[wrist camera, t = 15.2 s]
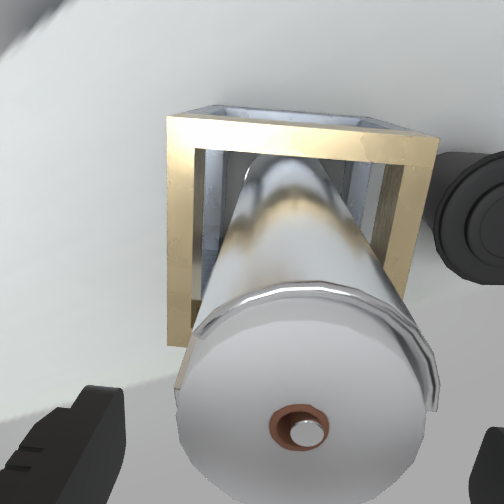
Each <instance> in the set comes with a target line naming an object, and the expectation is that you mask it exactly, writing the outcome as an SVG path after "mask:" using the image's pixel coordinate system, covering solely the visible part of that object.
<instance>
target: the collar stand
mask: <svg viewBox="0 0 504 504" xmlns="http://www.w3.org/2000/svg"><path fill="white" fill-rule="evenodd" d="M439 141H440V138H437V137H433V136H430V135H427V134H423V133H420V132H417V131H413V130H410V129H407V128H403V127H400V126H397V125H393V124H390V123H387V122H383V121H380V120H377V119H373V118H370V117H358V116H346V115H333V114H321V113H308V112H296V111H283V110H271V109H259V108H246V107H234V106H221V105H212V106H207V107H203V108H199V109H195V110H191V111H187V112H183V113H178V114H174V115H170V116H167V346H177V347H188V344H189V341H190V338H191V335H192V330H193V327H194V324H195V321H196V318H197V316H198V313H199V310H200V307H201V304H202V301H203V298H204V296H205V293H206V290H207V287H208V284H209V281H210V279H211V276H212V273H213V270H214V267H215V264H216V261H217V259H218V256H219V253H220V250H221V247H222V244H223V241H224V239H225V237H224V217H225V198H226V178H227V159H228V151H240V152H252V153H264V154H276V155H288V156H300V157H312V158H324V159H336V160H346V166H345V173H344V179H343V186H342V192H341V198H342V200H343V202H344V203H345V205H346V207H347V208H348V210H349V212H350V213H351V215H352V217H353V218H354V220H355V222H356V223H357V225H358V227H359V228H360V226H361V220H362V215H363V209H364V203H365V198H366V192H367V187H368V181H369V175H370V170H371V164H372V163H384V164H386V165H385V170H384V176H383V181H382V186H381V191H380V197H379V202H378V207H377V212H376V218H375V223H374V228H373V233H372V239H371V244H370V247H371V249H372V250H373V252H374V254H375V255H376V257H377V259H378V260H379V262H380V264H381V265H382V267H383V269H384V270H385V272H386V274H387V275H388V277H389V279H390V280H391V282H392V284H393V286H394V287H395V289H396V291H397V292H398V294H399V296H400V297H401V299H402V300H403V296H404V291H405V287H406V283H407V279H408V274H409V270H410V266H411V261H412V257H413V253H414V248H415V244H416V240H417V236H418V231H419V227H420V223H421V218H422V214H423V210H424V205H425V201H426V197H427V192H428V188H429V184H430V180H431V175H432V171H433V167H434V162H435V158H436V154H437V149H438V145H439ZM205 149H206V170H205ZM204 178H205V201H204ZM203 210H204V232H203ZM202 241H203V250H202Z"/></svg>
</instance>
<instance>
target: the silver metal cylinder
mask: <svg viewBox="0 0 504 504" xmlns="http://www.w3.org/2000/svg"><path fill="white" fill-rule="evenodd" d="M439 392H440V380H439V375H438V370H437V366H436V361H435V358H434V353H433V351H432V349H431V348H430V346H429V345H428V343H427V341H426V340H425V338H424V336H423V334H422V333H421V331H420V329H419V328H418V326H417V324H416V323H415V321H414V319H413V317H412V316H411V314H410V312H409V311H408V309H407V307H406V306H405V304H404V302H403V301H402V299H401V297H400V296H399V294H398V292H397V291H396V289H395V287H394V286H393V284H392V282H391V280H390V279H389V277H388V275H387V274H386V272H385V270H384V269H383V267H382V265H381V264H380V262H379V260H378V259H377V257H376V255H375V254H374V252H373V250H372V249H371V247H370V245H369V244H368V242H367V240H366V238H365V237H364V235H363V233H362V232H361V230H360V228H359V227H358V225H357V223H356V222H355V220H354V218H353V217H352V215H351V213H350V212H349V210H348V208H347V207H346V205H345V203H344V202H343V200H342V198H341V196H340V195H339V193H338V191H337V190H336V188H335V186H334V185H333V183H332V181H331V180H330V178H329V176H328V175H327V173H326V171H325V170H324V168H323V166H322V165H321V163H320V161H319V160H318V159H317V158H312V157H300V156H288V155H276V154H264V153H261V154H260V155H258V156H257V157H256V159H255V160H254V161H253V162H252V163H251V164H250V166H249V169H248V171H247V173H246V175H245V181H244V185H243V187H242V190H241V193H240V196H239V199H238V202H237V204H236V207H235V210H234V213H233V216H232V219H231V222H230V224H229V227H228V230H227V233H226V236H225V239H224V241H223V244H222V247H221V250H220V253H219V256H218V259H217V261H216V264H215V267H214V270H213V273H212V276H211V279H210V281H209V284H208V287H207V290H206V293H205V296H204V298H203V301H202V304H201V307H200V310H199V313H198V316H197V318H196V321H195V324H194V327H193V330H192V335H191V338H190V341H189V344H188V347H187V349H186V352H185V355H184V358H183V361H182V364H181V367H180V370H179V373H178V375H177V378H176V382H175V384H174V394H175V400H176V406H177V413H176V419H177V426H178V433H179V440H180V443H181V445H182V447H183V449H184V451H185V452H186V454H187V456H188V458H189V460H190V461H191V463H192V464H193V465H194V466H195V467H196V468H197V469H198V470H199V471H200V472H201V473H202V474H203V475H204V476H205V477H206V478H207V479H208V480H209V481H210V482H211V483H212V484H214V485H215V486H216V487H218V488H219V489H220V490H222V491H223V492H224V493H226V494H227V495H228V496H230V497H231V498H232V499H234V500H237V501H239V502H242V503H244V504H361V503H364V502H367V501H369V500H372V499H374V498H375V497H376V496H378V495H379V494H380V493H382V492H383V491H384V490H386V489H387V488H388V487H390V486H391V485H392V484H393V483H395V482H396V481H397V480H398V479H399V478H400V476H401V475H402V474H403V473H404V472H405V471H406V470H407V468H409V466H410V465H411V464H412V463H413V462H414V460H415V457H416V455H417V452H418V450H419V448H420V445H421V443H422V440H423V438H424V430H425V421H426V411H432V412H437V409H438V399H439Z"/></svg>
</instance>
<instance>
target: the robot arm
mask: <svg viewBox="0 0 504 504" xmlns="http://www.w3.org/2000/svg"><path fill="white" fill-rule="evenodd" d="M125 447H126V430H125V411H124V394H123V390H122V389H121V388H113V387H103V386H93V385H87V386H85V387H84V388H83V390H82V391H81V393H80V394H79V396H78V397H77V399H76V400H75V402H74V403H73V405H72V406H71V408H60V407H57V408H56V409H54V410H53V411H52V412H50V413H49V414H48V415H46V416H45V417H44V418H42V419H41V420H40V421H38V422H37V423H36V424H35V425H34V426H33V427H32V429H31V430H30V431H29V433H28V434H27V435H26V437H25V438H24V440H23V441H22V442H21V444H20V445H19V448H18V450H16V451H15V452H14V453H13V455H12V456H11V458H10V459H9V460H8V461H7V463H6V464H5V468H4V469H2V470H1V471H0V504H106V503H107V501H108V498H109V496H110V493H111V491H112V489H113V486H114V484H115V482H116V479H117V477H118V474H119V472H120V469H121V466H122V463H123V459H124V454H125ZM469 497H470V501H471V504H504V428H501V427H490V428H489V429H488V430H487V431H486V433H485V436H484V439H483V441H482V444H481V447H480V450H479V453H478V455H477V458H476V461H475V464H474V466H473V469H472V472H471V475H470V478H469Z"/></svg>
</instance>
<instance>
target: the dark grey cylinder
mask: <svg viewBox="0 0 504 504" xmlns="http://www.w3.org/2000/svg"><path fill="white" fill-rule="evenodd" d="M422 216H423V218H424V219H425V221H426V222H427V224H428V225H429V227H430V229H431V230H432V232H433V235H434V240H435V246H436V251H437V252H438V254H439V255H440V257H441V259H442V260H443V262H444V263H445V265H446V267H448V268H449V269H450V270H452V271H453V272H454V273H456V274H457V275H458V276H460V277H461V278H462V279H465V280H469V281H472V282H475V283H478V284H481V285H504V151H501V152H498V153H495V154H483V153H467V152H446V153H443V154H440V155H436V158H435V162H434V167H433V171H432V175H431V180H430V184H429V188H428V192H427V197H426V201H425V205H424V210H423V214H422Z"/></svg>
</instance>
